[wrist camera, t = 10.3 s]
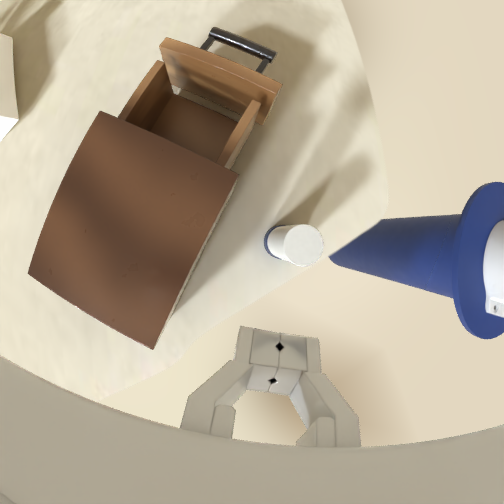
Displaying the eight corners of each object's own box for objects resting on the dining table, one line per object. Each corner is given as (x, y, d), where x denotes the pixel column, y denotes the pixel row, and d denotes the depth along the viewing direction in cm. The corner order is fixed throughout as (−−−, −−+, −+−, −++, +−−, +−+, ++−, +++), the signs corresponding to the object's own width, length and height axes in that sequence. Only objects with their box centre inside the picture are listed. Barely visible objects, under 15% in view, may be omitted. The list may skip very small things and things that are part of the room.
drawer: (198, 46, 28) (195, 4, 20) (286, 84, 29) (305, 48, 22) (112, 180, 28) (81, 165, 20) (206, 229, 29) (202, 227, 22)
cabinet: (130, 142, 29) (99, 110, 19) (232, 192, 30) (239, 174, 21) (74, 262, 29) (27, 273, 19) (170, 316, 31) (153, 350, 21)
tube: (301, 234, 32) (332, 235, 23) (286, 263, 32) (312, 275, 23) (272, 219, 31) (294, 214, 22) (258, 248, 31) (274, 255, 22)
